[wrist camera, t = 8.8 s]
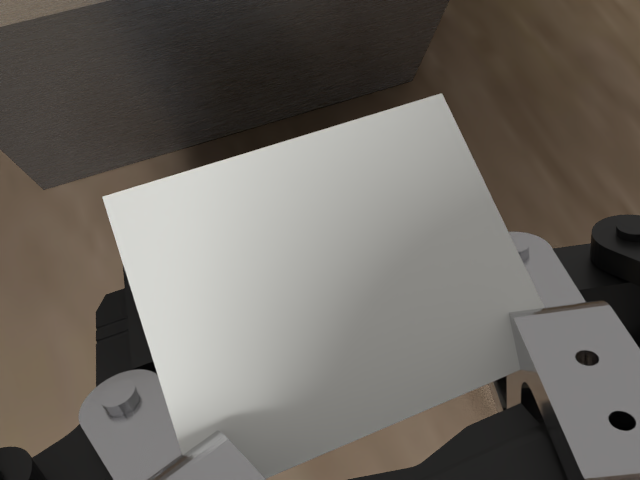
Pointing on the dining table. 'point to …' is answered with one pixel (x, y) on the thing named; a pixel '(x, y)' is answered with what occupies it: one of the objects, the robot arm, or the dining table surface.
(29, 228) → the dining table surface
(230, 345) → the block
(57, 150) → the grey flat box
